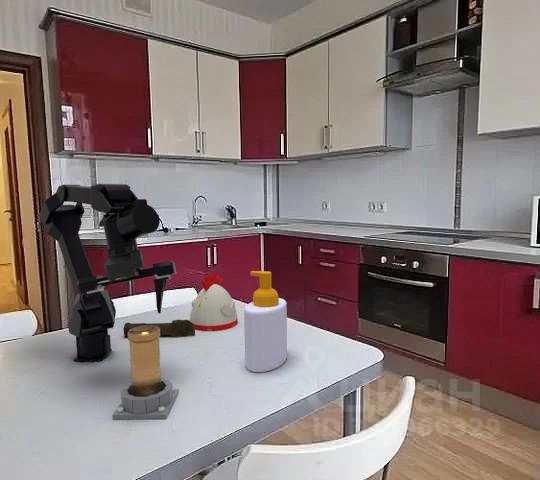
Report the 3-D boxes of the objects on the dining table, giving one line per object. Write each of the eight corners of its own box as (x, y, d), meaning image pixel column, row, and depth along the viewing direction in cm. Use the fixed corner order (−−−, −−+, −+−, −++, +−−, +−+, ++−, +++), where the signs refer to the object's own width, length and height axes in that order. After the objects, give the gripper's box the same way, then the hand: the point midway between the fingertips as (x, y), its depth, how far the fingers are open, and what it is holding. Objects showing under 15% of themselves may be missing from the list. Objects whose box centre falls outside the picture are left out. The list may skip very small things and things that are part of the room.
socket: (112, 419, 68) (111, 400, 67) (131, 393, 77) (130, 376, 76) (166, 418, 68) (165, 400, 67) (178, 393, 77) (178, 376, 76)
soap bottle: (263, 348, 99) (262, 266, 96) (295, 353, 95) (294, 268, 93) (236, 369, 87) (233, 276, 85) (270, 376, 83) (268, 279, 81)
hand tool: (122, 339, 107) (121, 322, 107) (128, 334, 111) (127, 318, 111) (192, 340, 106) (191, 323, 105) (196, 335, 110) (195, 318, 109)
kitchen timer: (180, 326, 117) (178, 275, 116) (212, 314, 128) (211, 268, 127) (215, 334, 109) (214, 280, 108) (247, 321, 120) (246, 272, 119)
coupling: (124, 405, 71) (120, 333, 69) (144, 391, 76) (141, 324, 74) (150, 411, 69) (146, 336, 67) (169, 396, 74) (166, 327, 72)
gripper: (59, 250, 73) (75, 335, 73) (163, 230, 76) (179, 311, 75) (79, 253, 84) (93, 327, 83) (169, 236, 87) (183, 307, 86)
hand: (136, 318), depth 82 cm, fingers open, 9 cm apart
